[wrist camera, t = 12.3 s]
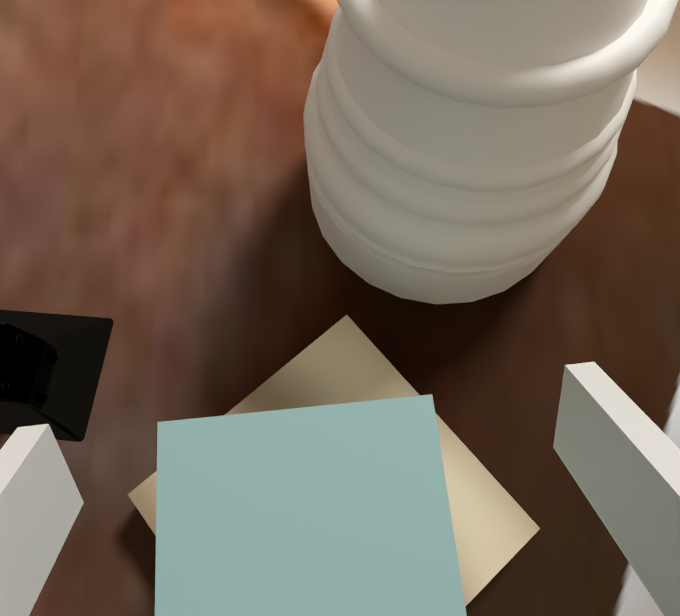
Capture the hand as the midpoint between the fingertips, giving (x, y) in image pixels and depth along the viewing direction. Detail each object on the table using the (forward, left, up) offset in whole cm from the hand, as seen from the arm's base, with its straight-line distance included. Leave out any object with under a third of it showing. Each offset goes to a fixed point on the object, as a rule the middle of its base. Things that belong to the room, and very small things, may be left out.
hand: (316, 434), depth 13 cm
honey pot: (+13, +6, -9) cm, 17 cm away
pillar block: (-1, -2, -7) cm, 7 cm away
